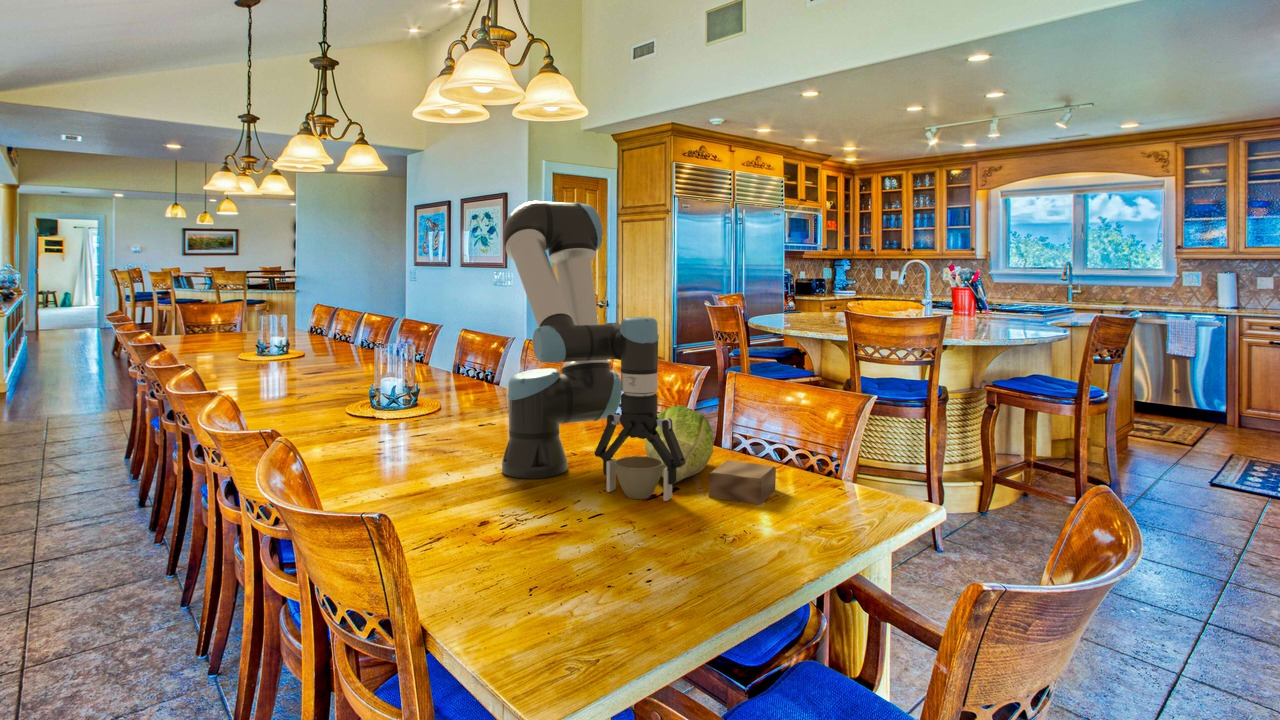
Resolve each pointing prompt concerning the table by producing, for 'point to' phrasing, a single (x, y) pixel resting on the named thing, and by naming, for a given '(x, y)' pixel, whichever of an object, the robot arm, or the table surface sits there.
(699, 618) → the table surface
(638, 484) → the flower pot
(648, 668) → the table surface
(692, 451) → the lettuce
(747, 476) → the walnut block
